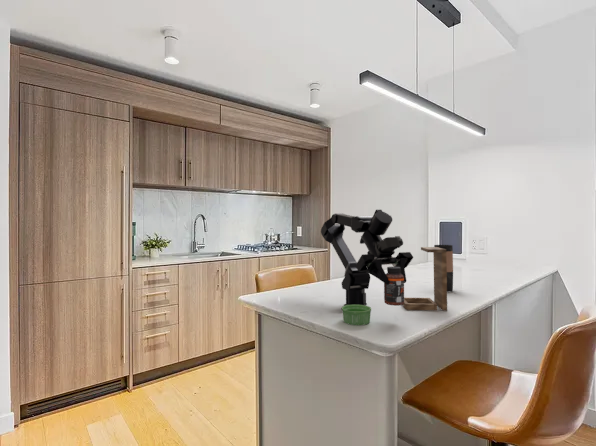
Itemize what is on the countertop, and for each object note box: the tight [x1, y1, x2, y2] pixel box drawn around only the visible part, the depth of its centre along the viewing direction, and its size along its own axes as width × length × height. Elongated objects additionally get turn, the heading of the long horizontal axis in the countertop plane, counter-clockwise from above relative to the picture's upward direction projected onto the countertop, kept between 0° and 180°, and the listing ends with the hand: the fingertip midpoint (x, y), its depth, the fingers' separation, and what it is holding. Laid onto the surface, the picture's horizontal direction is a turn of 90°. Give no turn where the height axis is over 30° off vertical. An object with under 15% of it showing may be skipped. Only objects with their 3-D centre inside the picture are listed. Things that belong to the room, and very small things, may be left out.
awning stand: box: [402, 246, 448, 312], centre depth 126 cm, size 14×11×21 cm
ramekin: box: [341, 305, 372, 326], centre depth 108 cm, size 9×9×4 cm
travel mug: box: [433, 244, 454, 293], centre depth 154 cm, size 8×8×20 cm
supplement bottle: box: [383, 266, 405, 306], centre depth 107 cm, size 6×6×11 cm
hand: (397, 283), depth 106 cm, fingers closed on supplement bottle, 6 cm apart
